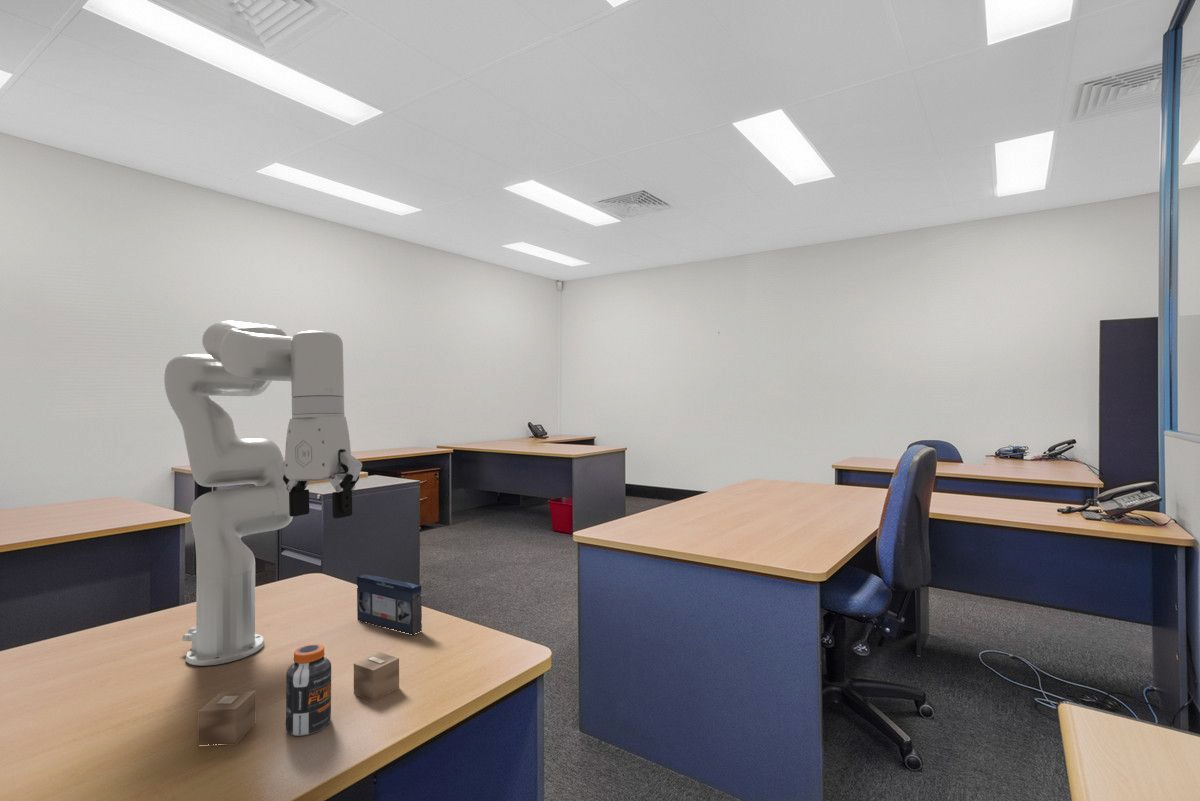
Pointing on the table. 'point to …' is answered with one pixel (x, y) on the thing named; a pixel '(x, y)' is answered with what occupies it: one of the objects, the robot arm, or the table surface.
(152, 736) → the table surface
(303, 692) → the pill bottle
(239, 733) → the marked cube one
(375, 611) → the vhs cassette tape
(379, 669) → the marked cube two
